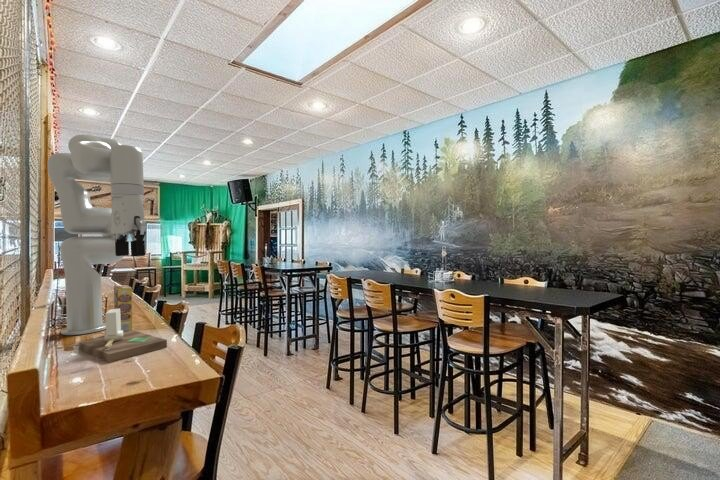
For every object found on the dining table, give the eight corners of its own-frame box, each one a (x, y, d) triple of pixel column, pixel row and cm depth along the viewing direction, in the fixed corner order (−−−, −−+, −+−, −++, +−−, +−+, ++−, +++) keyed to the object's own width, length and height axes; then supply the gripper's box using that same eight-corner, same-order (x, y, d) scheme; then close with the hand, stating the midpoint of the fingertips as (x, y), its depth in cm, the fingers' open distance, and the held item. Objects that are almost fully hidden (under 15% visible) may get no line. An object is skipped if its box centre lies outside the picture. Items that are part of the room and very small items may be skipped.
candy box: (134, 335, 114) (132, 287, 113) (117, 338, 111) (115, 288, 111) (130, 330, 121) (128, 284, 120) (114, 332, 118) (112, 286, 118)
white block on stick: (107, 337, 103) (106, 309, 103) (125, 335, 105) (124, 307, 105) (96, 349, 92) (95, 318, 91) (116, 347, 93) (115, 316, 93)
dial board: (79, 349, 100) (79, 341, 100) (134, 336, 112) (133, 329, 112) (109, 362, 89) (108, 353, 89) (166, 346, 100) (166, 339, 100)
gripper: (99, 194, 99) (101, 256, 100) (126, 188, 89) (128, 257, 89) (129, 196, 105) (131, 254, 106) (157, 190, 95) (160, 255, 96)
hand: (130, 255), depth 98 cm, fingers open, 9 cm apart
